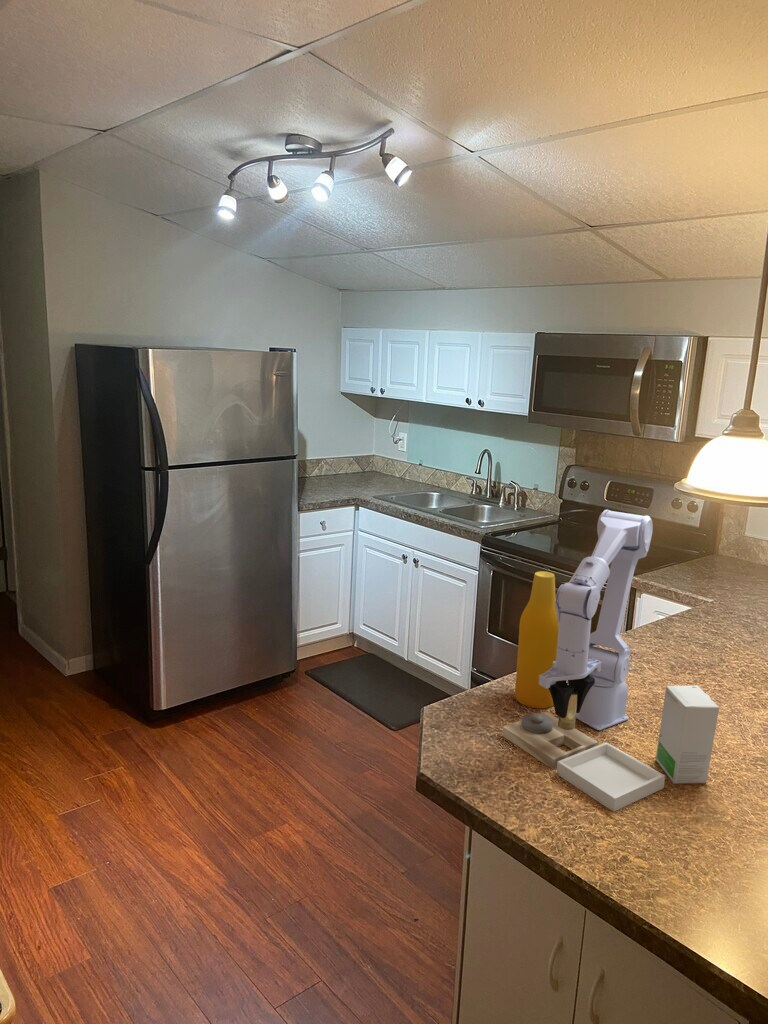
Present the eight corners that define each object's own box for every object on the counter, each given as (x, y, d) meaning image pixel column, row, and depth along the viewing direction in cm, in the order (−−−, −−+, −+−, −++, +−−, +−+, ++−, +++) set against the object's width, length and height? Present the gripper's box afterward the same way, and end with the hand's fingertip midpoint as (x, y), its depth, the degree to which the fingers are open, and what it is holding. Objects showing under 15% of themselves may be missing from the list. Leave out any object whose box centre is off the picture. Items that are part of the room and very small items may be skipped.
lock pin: (566, 720, 144) (568, 686, 143) (578, 727, 142) (581, 693, 140) (554, 724, 143) (556, 690, 141) (566, 731, 140) (569, 697, 138)
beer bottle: (529, 712, 159) (538, 583, 152) (506, 693, 167) (514, 570, 161) (565, 705, 162) (575, 578, 156) (541, 687, 171) (550, 566, 164)
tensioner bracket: (545, 720, 156) (546, 702, 155) (597, 751, 144) (599, 732, 143) (502, 735, 149) (503, 717, 148) (553, 769, 138) (554, 749, 137)
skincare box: (654, 759, 142) (663, 684, 138) (688, 759, 142) (697, 683, 139) (674, 785, 134) (684, 705, 130) (710, 784, 134) (720, 705, 131)
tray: (605, 753, 143) (606, 742, 143) (663, 788, 133) (665, 775, 132) (556, 773, 136) (557, 761, 136) (613, 811, 125) (615, 798, 125)
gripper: (583, 631, 146) (578, 695, 149) (529, 646, 138) (524, 713, 141) (612, 644, 140) (605, 710, 143) (557, 660, 132) (551, 730, 135)
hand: (567, 713), depth 142 cm, fingers closed on lock pin, 3 cm apart
